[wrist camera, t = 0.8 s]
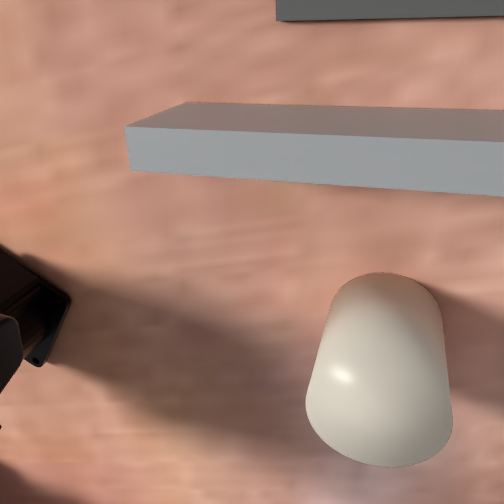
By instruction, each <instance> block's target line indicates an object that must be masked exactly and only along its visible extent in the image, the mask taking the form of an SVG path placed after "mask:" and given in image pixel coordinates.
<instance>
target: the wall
mask: <svg viewBox="0 0 504 504" xmlns="http://www.w3.org/2000/svg"><path fill="white" fill-rule="evenodd" d="M124 128H125V135H126V142H127V149H128V156H129V163H130V170H131V171H139V172H154V173H168V174H183V175H197V176H212V177H226V178H241V179H255V180H270V181H284V182H299V183H313V184H328V185H342V186H357V187H371V188H386V189H400V190H415V191H429V192H444V193H458V194H473V195H487V196H502V197H504V110H474V109H433V108H393V107H352V106H312V105H271V104H230V103H190V102H186V103H183V104H181V105H178V106H175V107H173V108H170V109H168V110H165V111H163V112H160V113H158V114H155V115H153V116H150V117H148V118H145V119H142V120H140V121H137V122H135V123H132V124H130V125H127V126H125V127H124Z"/></svg>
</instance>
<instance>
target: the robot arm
mask: <svg viewBox="0 0 504 504" xmlns="http://www.w3.org/2000/svg"><path fill="white" fill-rule="evenodd" d="M60 300H61V301H62V302H61V301H60ZM70 304H71V300H70V297H69V296H68V295H67V294H66V293H65V292H63V291H62V290H60V289H58V288H57V287H55V286H54V285H52V284H51V283H49V282H48V281H46V280H45V279H43V278H42V277H40V276H39V275H37V274H36V273H34V272H33V271H31V270H30V269H28V268H27V267H25V266H24V265H22V264H21V263H19V262H18V261H16V260H15V259H13V258H12V257H10V256H9V255H7V254H6V253H4V252H3V251H1V250H0V393H1V392H2V391H3V389H4V388H5V386H6V385H7V383H8V382H9V381H10V379H11V378H12V376H13V375H14V374H15V372H16V371H17V369H18V368H19V366H20V364H21V362H22V360H23V359H25V360H26V361H28V362H29V363H31V364H32V365H34V366H36V367H41V366H43V365H44V364H45V363H46V361H47V359H48V357H49V355H50V352H51V350H52V347H53V345H54V343H55V340H56V338H57V335H58V333H59V331H60V328H61V326H62V323H63V321H64V319H65V316H66V314H67V312H68V309H69V307H70ZM1 427H2V426H1V425H0V429H1Z"/></svg>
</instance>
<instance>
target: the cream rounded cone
mask: <svg viewBox="0 0 504 504" xmlns="http://www.w3.org/2000/svg"><path fill="white" fill-rule="evenodd" d="M306 412H307V416H308V418H309V421H310V423H311V425H312V427H313V429H314V430H315V431H316V433H317V434H318V435H319V436H320V438H321V439H322V440H323V441H324V442H325V443H327V444H328V445H329V446H330V447H331V448H333V449H334V450H336V451H337V452H339V453H341V454H342V455H344V456H346V457H348V458H350V459H353V460H355V461H358V462H361V463H365V464H368V465H373V466H380V467H403V466H409V465H414V464H417V463H420V462H423V461H425V460H427V459H429V458H431V457H432V456H434V455H435V454H437V453H438V452H439V451H440V450H441V449H442V448H443V447H444V446H445V444H446V443H447V441H448V439H449V438H450V435H451V432H452V426H453V416H452V406H451V397H450V388H449V378H448V369H447V360H446V350H445V341H444V332H443V323H442V315H441V311H440V308H439V305H438V303H437V302H436V300H435V298H434V297H433V296H432V294H431V293H430V292H429V291H428V290H427V289H426V288H425V287H423V286H422V285H421V284H419V283H417V282H416V281H414V280H412V279H410V278H407V277H405V276H402V275H398V274H393V273H383V272H382V273H370V274H366V275H362V276H359V277H357V278H354V279H352V280H351V281H349V282H347V283H346V284H345V285H344V286H342V287H341V288H340V289H339V290H338V292H337V293H336V295H335V296H334V298H333V300H332V303H331V306H330V309H329V313H328V317H327V321H326V324H325V328H324V332H323V335H322V339H321V343H320V346H319V350H318V354H317V358H316V361H315V365H314V369H313V372H312V376H311V380H310V383H309V387H308V391H307V395H306Z"/></svg>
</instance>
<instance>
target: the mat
mask: <svg viewBox="0 0 504 504" xmlns="http://www.w3.org/2000/svg"><path fill="white" fill-rule="evenodd" d="M503 15H504V0H276V21H295V20H337V19H378V18H420V17H461V16H503Z"/></svg>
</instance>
